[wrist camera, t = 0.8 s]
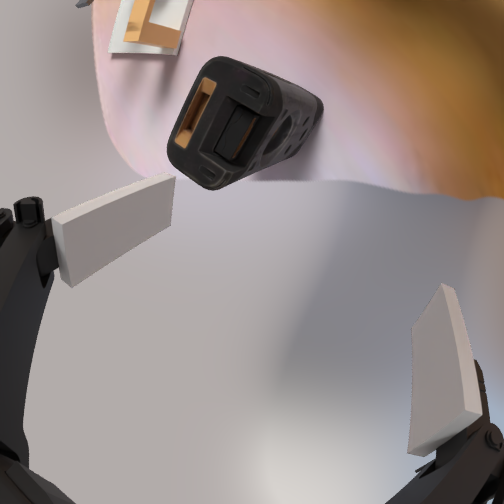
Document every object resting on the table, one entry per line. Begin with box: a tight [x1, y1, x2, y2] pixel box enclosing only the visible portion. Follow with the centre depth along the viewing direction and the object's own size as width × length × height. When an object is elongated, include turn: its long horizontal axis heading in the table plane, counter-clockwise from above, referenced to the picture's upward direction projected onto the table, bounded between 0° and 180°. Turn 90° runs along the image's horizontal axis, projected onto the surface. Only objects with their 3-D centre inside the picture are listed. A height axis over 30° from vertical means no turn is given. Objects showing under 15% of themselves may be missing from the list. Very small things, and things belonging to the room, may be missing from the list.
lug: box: [123, 0, 181, 49], centre depth 30 cm, size 6×3×8 cm, turn 165°
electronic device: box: [167, 56, 324, 190], centre depth 27 cm, size 9×6×20 cm, turn 150°
